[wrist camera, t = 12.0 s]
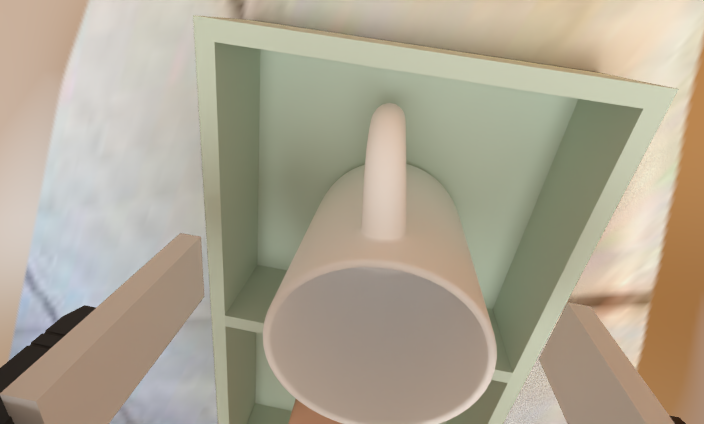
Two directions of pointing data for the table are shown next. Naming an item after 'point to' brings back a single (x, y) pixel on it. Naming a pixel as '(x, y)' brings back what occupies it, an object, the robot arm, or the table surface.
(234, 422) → the caddy
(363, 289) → the mug
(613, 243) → the table surface
